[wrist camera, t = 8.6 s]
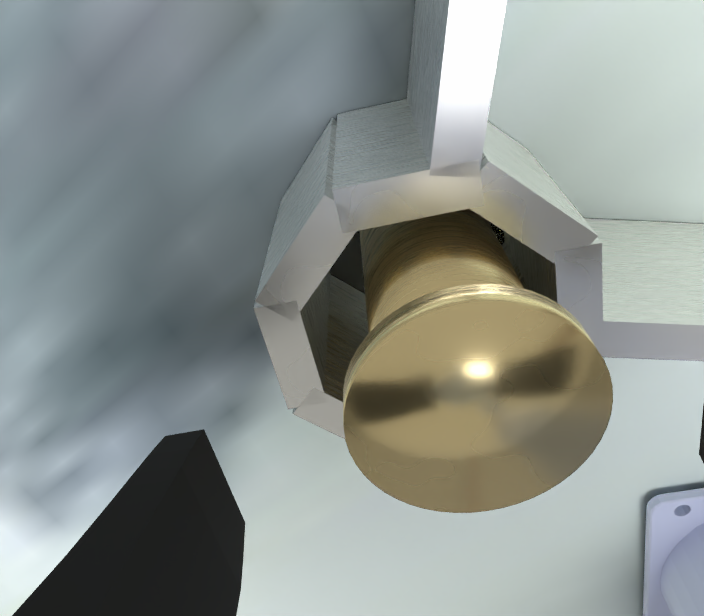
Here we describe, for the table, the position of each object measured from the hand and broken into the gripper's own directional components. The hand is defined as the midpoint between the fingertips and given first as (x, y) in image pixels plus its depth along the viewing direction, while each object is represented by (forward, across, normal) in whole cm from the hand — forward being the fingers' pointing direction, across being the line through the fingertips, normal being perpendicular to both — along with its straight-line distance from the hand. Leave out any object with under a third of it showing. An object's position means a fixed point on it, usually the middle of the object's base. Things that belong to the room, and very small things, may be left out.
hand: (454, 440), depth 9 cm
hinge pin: (+8, 0, 0) cm, 8 cm away
